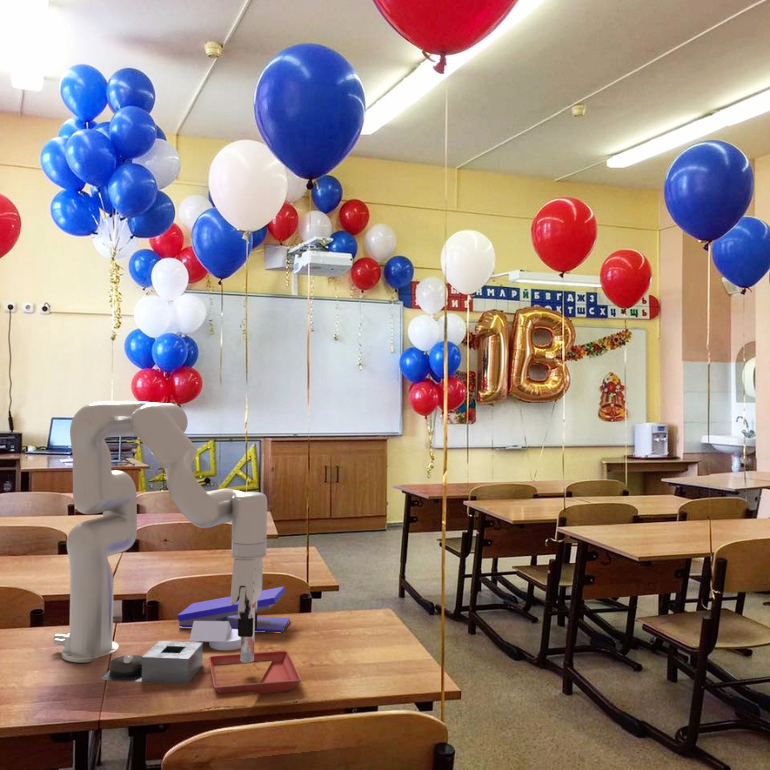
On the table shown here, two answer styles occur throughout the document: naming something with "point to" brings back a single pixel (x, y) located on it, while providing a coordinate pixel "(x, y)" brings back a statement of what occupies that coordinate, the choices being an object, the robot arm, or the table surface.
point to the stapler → (235, 612)
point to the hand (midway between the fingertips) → (247, 632)
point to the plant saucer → (275, 679)
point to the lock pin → (248, 642)
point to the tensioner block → (159, 664)
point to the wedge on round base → (216, 634)
